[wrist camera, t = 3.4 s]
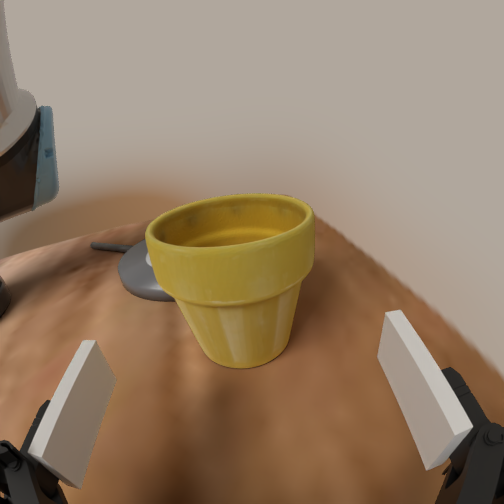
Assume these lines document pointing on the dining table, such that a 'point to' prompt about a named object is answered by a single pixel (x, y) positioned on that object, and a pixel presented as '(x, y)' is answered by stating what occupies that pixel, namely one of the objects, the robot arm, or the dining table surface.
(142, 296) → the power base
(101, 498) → the dining table surface
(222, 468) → the dining table surface
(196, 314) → the plant pot
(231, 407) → the dining table surface
